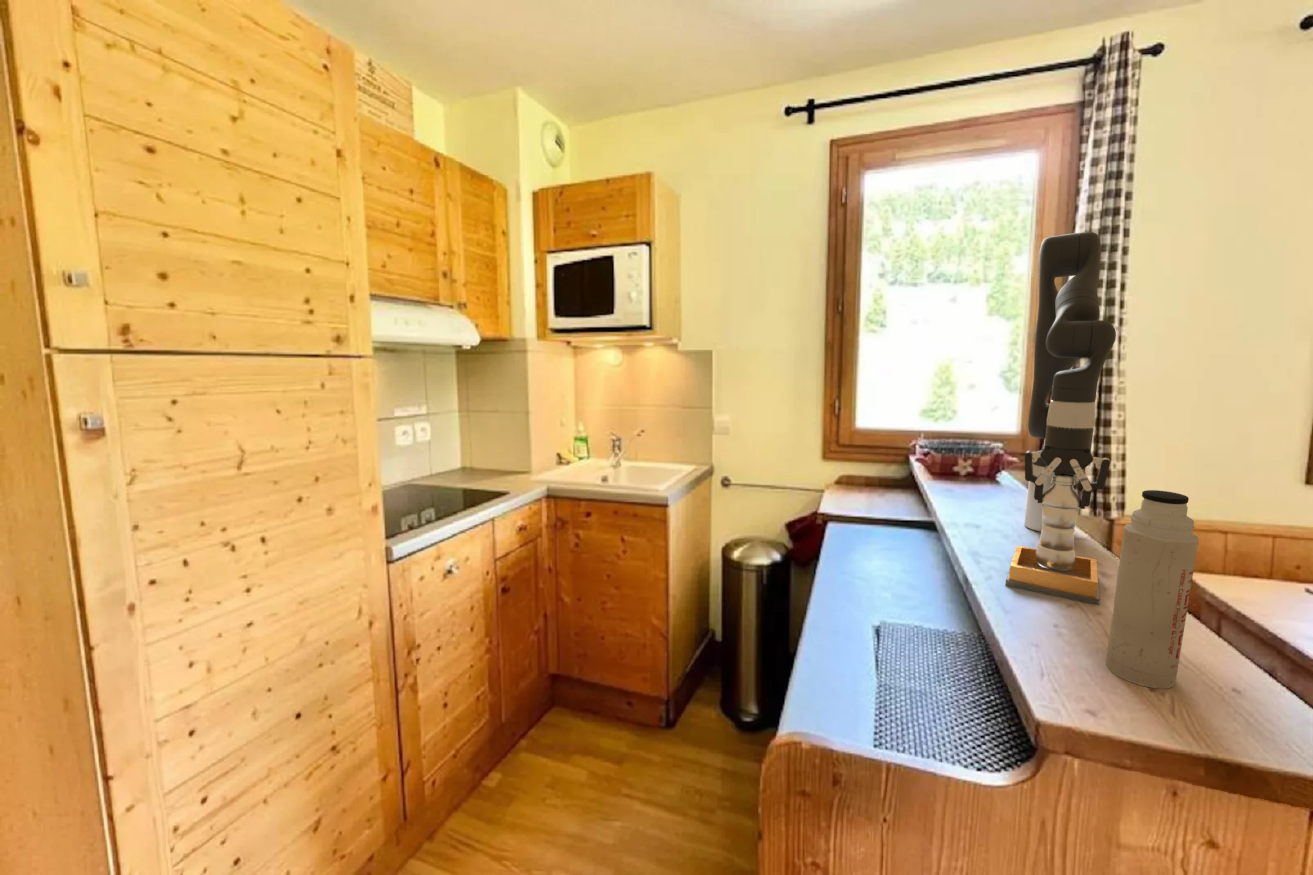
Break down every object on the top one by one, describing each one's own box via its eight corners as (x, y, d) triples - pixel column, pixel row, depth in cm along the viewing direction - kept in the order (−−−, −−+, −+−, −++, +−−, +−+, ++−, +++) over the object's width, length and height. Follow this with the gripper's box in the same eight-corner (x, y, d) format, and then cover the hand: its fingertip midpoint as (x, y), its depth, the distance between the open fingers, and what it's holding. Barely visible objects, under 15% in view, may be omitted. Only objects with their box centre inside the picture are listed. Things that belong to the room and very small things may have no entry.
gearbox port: (1012, 561, 125) (1014, 544, 124) (1097, 578, 116) (1099, 559, 115) (1005, 585, 113) (1007, 565, 113) (1098, 605, 104) (1101, 584, 104)
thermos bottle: (1186, 680, 81) (1217, 496, 77) (1156, 694, 78) (1186, 504, 73) (1123, 653, 89) (1148, 483, 84) (1093, 665, 85) (1117, 490, 81)
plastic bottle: (1080, 576, 111) (1092, 479, 107) (1042, 573, 112) (1053, 478, 108) (1063, 563, 117) (1075, 471, 113) (1028, 561, 118) (1038, 470, 115)
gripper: (1116, 424, 108) (1105, 506, 111) (1027, 418, 116) (1020, 495, 119) (1118, 429, 102) (1106, 516, 105) (1024, 423, 111) (1016, 503, 113)
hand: (1060, 504), depth 112 cm, fingers closed on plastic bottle, 6 cm apart
